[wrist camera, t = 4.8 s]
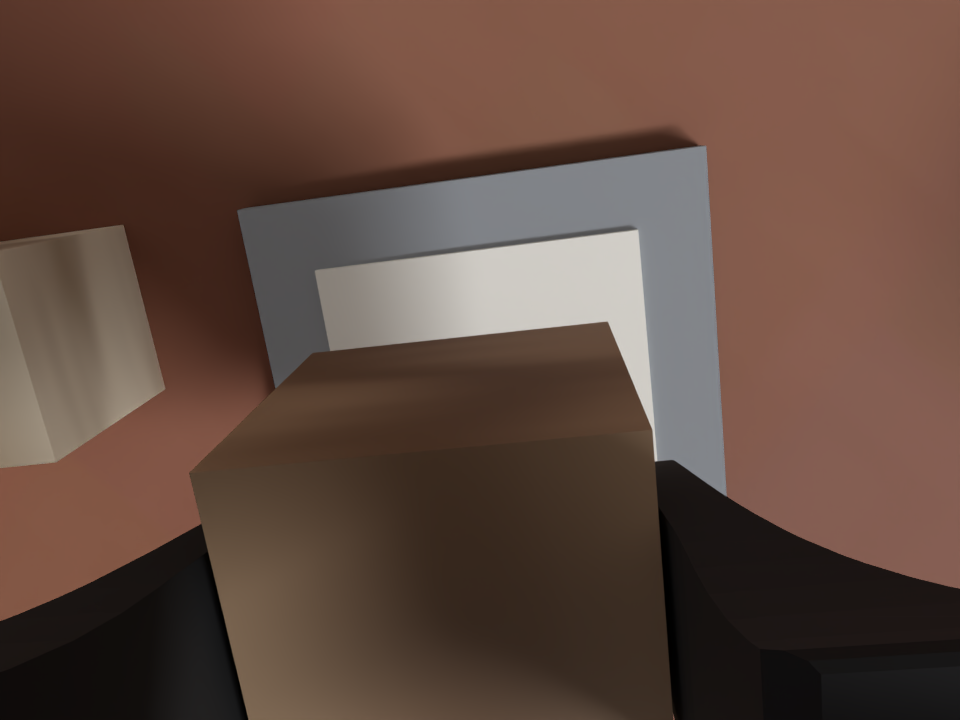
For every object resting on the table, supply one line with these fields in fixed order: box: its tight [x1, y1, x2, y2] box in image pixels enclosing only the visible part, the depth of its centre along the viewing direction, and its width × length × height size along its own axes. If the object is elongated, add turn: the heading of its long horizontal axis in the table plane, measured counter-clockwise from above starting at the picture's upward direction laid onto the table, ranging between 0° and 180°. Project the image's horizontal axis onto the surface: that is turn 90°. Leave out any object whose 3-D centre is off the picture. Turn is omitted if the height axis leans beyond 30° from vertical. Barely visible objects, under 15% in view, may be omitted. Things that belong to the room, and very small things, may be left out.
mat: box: [237, 145, 727, 496], centre depth 18 cm, size 10×10×1 cm
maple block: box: [0, 225, 165, 468], centre depth 17 cm, size 4×4×4 cm
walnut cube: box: [189, 321, 673, 720], centre depth 11 cm, size 5×5×5 cm
